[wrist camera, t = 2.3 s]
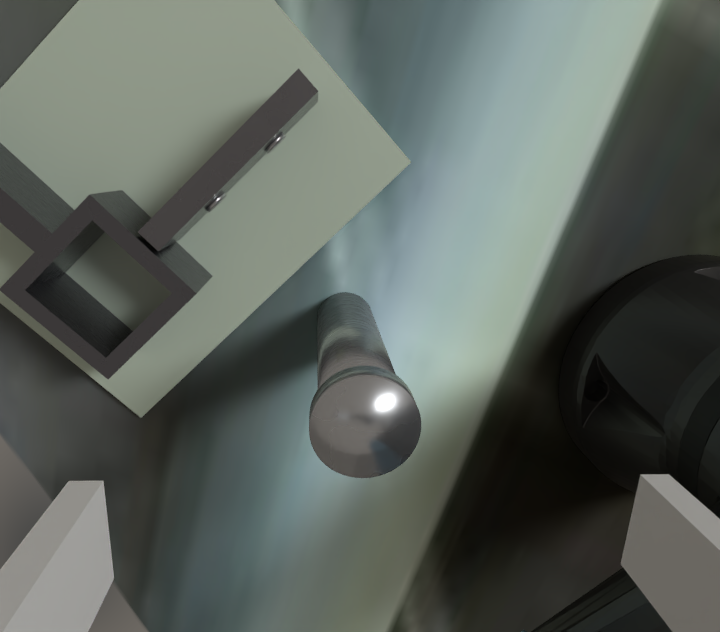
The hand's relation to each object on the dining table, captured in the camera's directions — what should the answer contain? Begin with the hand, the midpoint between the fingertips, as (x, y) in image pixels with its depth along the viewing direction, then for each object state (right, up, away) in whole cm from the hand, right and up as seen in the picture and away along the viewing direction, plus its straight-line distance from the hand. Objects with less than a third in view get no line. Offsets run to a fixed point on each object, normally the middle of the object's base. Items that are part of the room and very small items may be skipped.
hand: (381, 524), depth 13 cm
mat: (-11, +12, +14) cm, 22 cm away
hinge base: (-16, +11, +14) cm, 24 cm away
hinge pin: (-1, +5, +17) cm, 18 cm away
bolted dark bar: (-7, +13, +14) cm, 20 cm away
